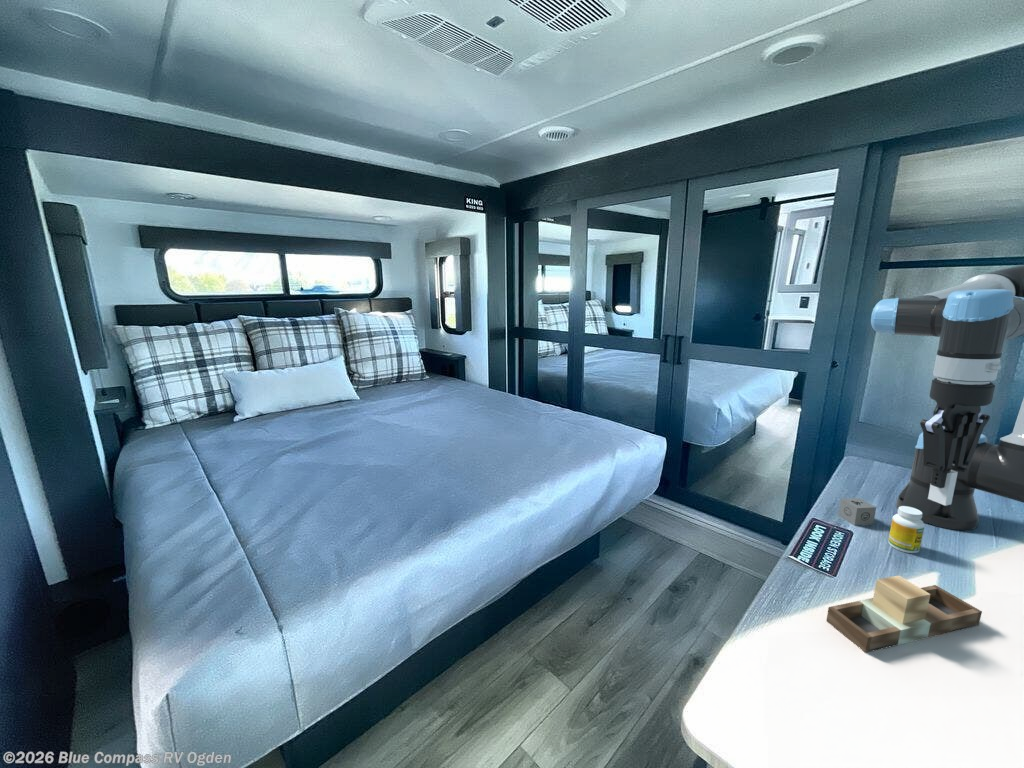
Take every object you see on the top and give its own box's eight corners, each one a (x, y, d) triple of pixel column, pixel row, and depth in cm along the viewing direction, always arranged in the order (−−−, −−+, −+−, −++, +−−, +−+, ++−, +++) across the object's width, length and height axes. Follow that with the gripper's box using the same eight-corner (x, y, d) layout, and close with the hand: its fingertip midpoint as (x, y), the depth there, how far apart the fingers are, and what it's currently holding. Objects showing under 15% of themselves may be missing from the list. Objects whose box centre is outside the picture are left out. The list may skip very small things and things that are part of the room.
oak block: (893, 598, 76) (898, 575, 75) (925, 618, 71) (930, 594, 70) (872, 603, 75) (876, 579, 74) (902, 624, 70) (907, 599, 69)
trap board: (932, 598, 80) (935, 584, 79) (978, 625, 73) (982, 611, 73) (826, 621, 75) (828, 607, 75) (865, 652, 69) (868, 637, 68)
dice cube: (838, 515, 110) (841, 498, 109) (856, 514, 110) (859, 497, 109) (854, 525, 105) (857, 508, 104) (873, 524, 105) (876, 507, 104)
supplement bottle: (890, 537, 99) (897, 501, 97) (921, 547, 95) (928, 510, 93) (885, 546, 96) (892, 509, 94) (916, 557, 92) (924, 518, 90)
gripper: (962, 388, 66) (937, 517, 72) (1020, 380, 69) (991, 505, 74) (909, 379, 74) (890, 497, 79) (963, 372, 76) (941, 487, 82)
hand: (939, 501), depth 77 cm, fingers closed
